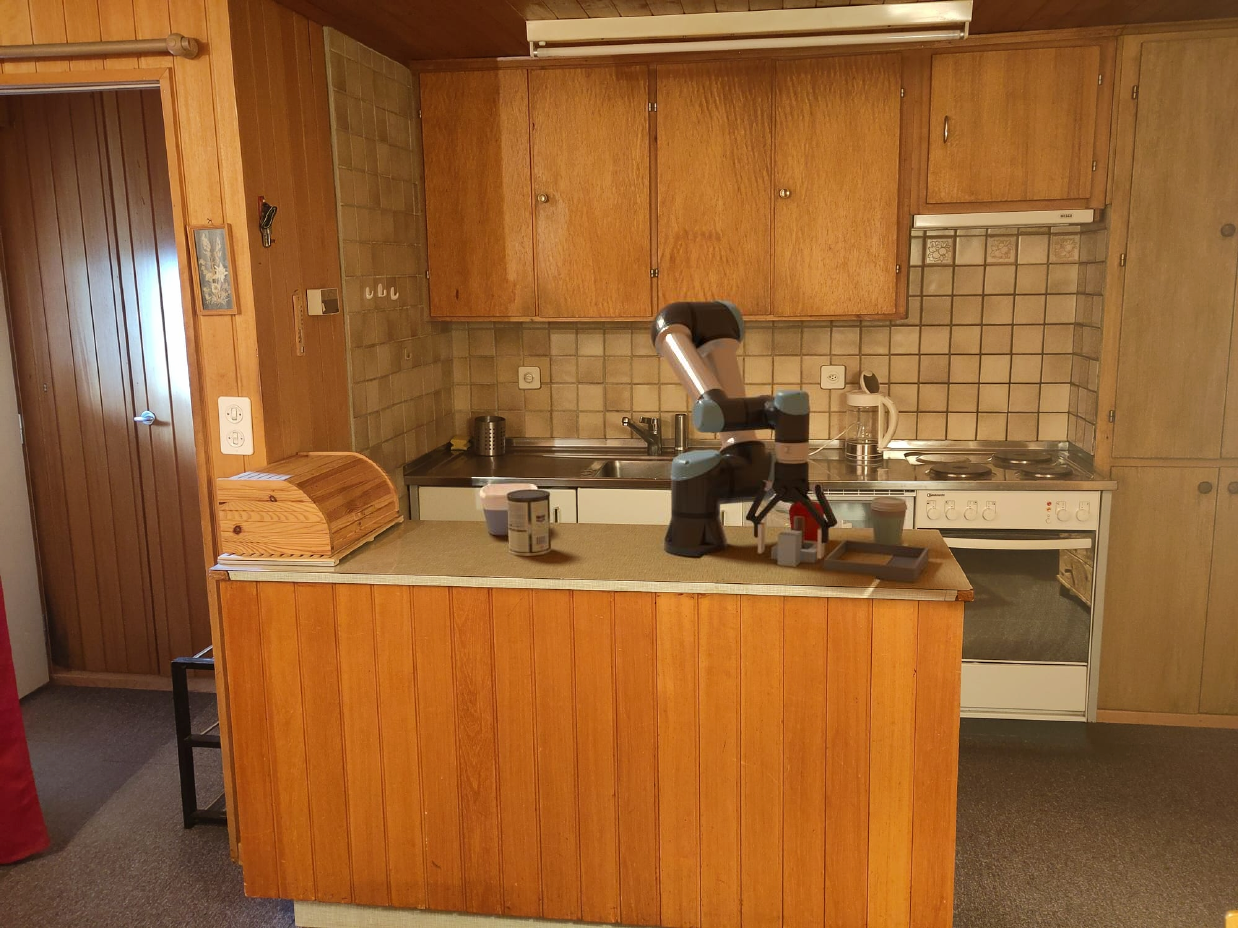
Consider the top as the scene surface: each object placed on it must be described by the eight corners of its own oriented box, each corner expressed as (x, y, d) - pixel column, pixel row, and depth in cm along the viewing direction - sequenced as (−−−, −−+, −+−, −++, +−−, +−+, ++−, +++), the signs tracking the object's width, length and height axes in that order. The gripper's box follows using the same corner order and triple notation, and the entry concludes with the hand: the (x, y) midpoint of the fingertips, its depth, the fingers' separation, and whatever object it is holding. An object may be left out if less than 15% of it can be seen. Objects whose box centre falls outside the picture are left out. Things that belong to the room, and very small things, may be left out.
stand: (768, 561, 237) (769, 520, 236) (782, 550, 247) (782, 510, 246) (815, 567, 233) (816, 524, 231) (827, 555, 243) (828, 514, 241)
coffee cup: (907, 554, 243) (908, 504, 241) (869, 552, 245) (871, 502, 243) (904, 545, 251) (906, 496, 249) (868, 543, 253) (869, 495, 251)
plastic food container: (481, 525, 277) (479, 484, 275) (539, 523, 278) (538, 482, 277) (479, 539, 262) (478, 495, 260) (541, 536, 263) (540, 493, 262)
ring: (764, 563, 233) (765, 533, 232) (783, 548, 246) (784, 519, 245) (808, 568, 229) (809, 537, 228) (825, 552, 242) (825, 523, 241)
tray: (823, 573, 228) (823, 559, 227) (843, 552, 245) (844, 539, 245) (914, 582, 220) (914, 568, 219) (928, 560, 237) (929, 547, 237)
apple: (821, 549, 248) (822, 501, 246) (786, 547, 251) (787, 499, 249) (825, 541, 256) (826, 494, 254) (791, 539, 259) (791, 492, 257)
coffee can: (521, 543, 256) (520, 487, 254) (558, 547, 252) (557, 490, 250) (500, 553, 247) (498, 495, 245) (538, 558, 243) (536, 499, 240)
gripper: (732, 460, 231) (732, 553, 234) (843, 466, 221) (842, 563, 224) (742, 455, 238) (742, 546, 241) (851, 461, 227) (850, 555, 231)
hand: (790, 554), depth 232 cm, fingers open, 13 cm apart
